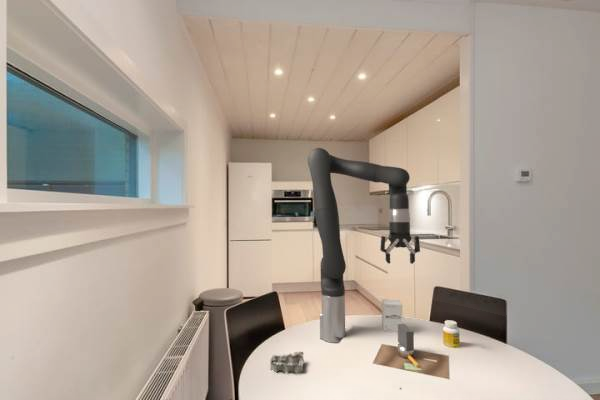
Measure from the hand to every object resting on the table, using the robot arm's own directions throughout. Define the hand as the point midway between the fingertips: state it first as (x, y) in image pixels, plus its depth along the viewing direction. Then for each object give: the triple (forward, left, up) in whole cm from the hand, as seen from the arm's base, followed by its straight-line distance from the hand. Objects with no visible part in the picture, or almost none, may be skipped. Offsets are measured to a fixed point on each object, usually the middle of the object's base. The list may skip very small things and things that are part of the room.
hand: (400, 263), depth 117 cm
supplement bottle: (+17, +3, -30) cm, 35 cm away
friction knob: (+4, -15, -28) cm, 32 cm away
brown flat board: (+5, -15, -30) cm, 34 cm away
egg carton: (-31, -34, -31) cm, 55 cm away
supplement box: (-5, +10, -30) cm, 32 cm away
